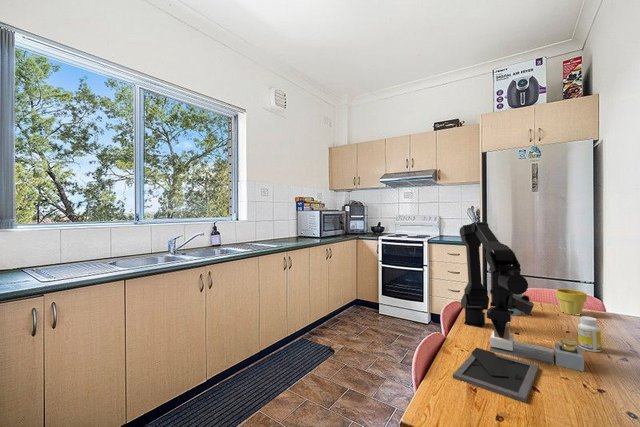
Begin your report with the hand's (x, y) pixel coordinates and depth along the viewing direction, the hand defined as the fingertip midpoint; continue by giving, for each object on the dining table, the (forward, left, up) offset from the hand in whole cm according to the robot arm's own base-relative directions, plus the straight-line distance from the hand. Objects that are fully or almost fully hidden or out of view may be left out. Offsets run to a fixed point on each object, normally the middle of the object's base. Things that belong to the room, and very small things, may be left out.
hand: (502, 335), depth 96 cm
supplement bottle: (+23, +16, -4) cm, 28 cm away
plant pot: (+21, +59, -4) cm, 63 cm away
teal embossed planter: (-1, +45, -4) cm, 45 cm away
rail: (+5, 0, -4) cm, 7 cm away
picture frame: (+1, -19, -5) cm, 20 cm away
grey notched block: (+17, 0, -4) cm, 17 cm away
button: (+16, 0, -2) cm, 17 cm away
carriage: (0, 0, -4) cm, 4 cm away
